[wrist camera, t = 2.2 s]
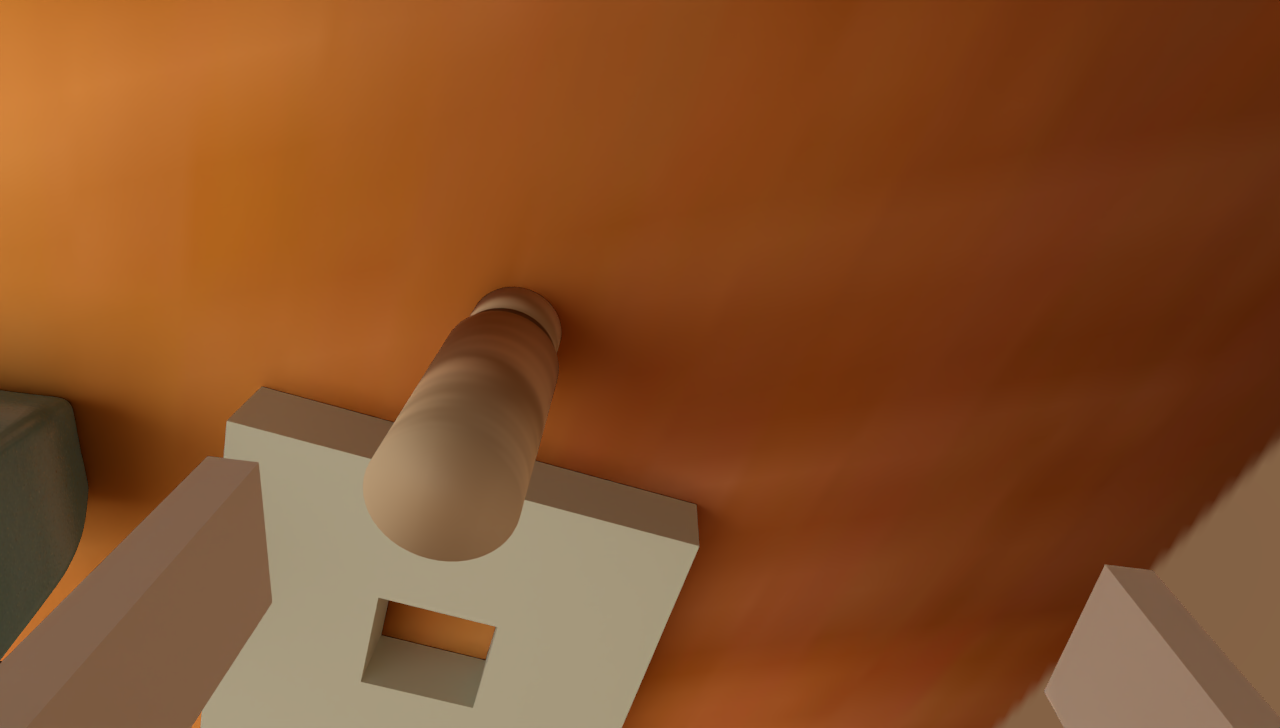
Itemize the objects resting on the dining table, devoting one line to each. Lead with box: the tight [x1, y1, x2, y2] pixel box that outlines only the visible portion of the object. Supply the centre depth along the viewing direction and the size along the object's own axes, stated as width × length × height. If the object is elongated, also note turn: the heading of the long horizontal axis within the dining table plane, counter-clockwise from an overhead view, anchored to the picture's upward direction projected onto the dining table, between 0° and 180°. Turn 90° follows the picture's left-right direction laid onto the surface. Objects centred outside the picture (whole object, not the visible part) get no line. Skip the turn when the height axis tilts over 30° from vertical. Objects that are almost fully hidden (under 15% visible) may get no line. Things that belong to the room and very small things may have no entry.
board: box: [201, 387, 699, 728], centre depth 38 cm, size 20×20×3 cm
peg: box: [363, 287, 561, 562], centre depth 27 cm, size 4×4×12 cm
